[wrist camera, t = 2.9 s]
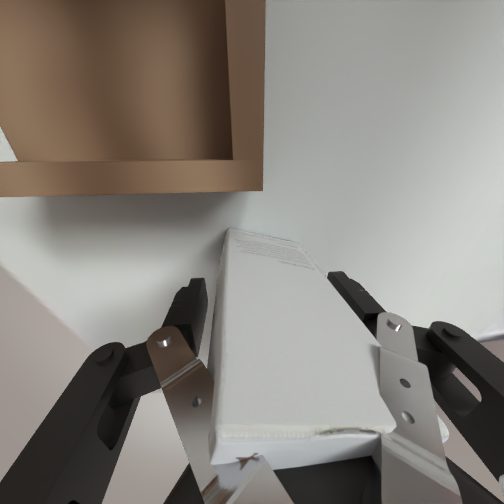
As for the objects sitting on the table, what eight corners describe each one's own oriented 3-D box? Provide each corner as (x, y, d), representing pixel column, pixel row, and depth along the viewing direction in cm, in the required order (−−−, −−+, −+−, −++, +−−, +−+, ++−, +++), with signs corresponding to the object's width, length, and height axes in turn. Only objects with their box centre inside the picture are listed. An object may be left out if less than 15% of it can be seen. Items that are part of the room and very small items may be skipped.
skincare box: (217, 272, 16) (178, 513, 5) (227, 222, 14) (198, 441, 3) (285, 283, 17) (369, 503, 6) (304, 238, 15) (467, 444, 4)
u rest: (251, -157, 7) (275, -696, 3) (253, 177, 13) (262, 190, 8) (-127, -188, 7) (-1004, -1014, 2) (48, 181, 12) (-70, 198, 7)
